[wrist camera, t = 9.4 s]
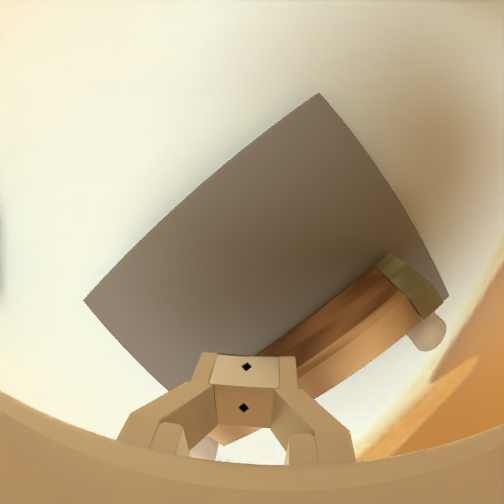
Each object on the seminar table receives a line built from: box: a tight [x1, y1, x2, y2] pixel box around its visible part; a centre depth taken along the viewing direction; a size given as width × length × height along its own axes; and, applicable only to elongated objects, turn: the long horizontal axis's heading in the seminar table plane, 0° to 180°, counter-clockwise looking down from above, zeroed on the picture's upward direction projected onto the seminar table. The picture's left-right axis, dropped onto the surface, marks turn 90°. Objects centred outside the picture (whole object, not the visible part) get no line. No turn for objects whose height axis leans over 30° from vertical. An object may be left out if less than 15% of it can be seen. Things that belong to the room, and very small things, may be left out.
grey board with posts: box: [83, 93, 449, 461], centre depth 18 cm, size 25×19×9 cm
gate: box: [208, 252, 443, 446], centre depth 18 cm, size 17×2×7 cm, turn 132°
